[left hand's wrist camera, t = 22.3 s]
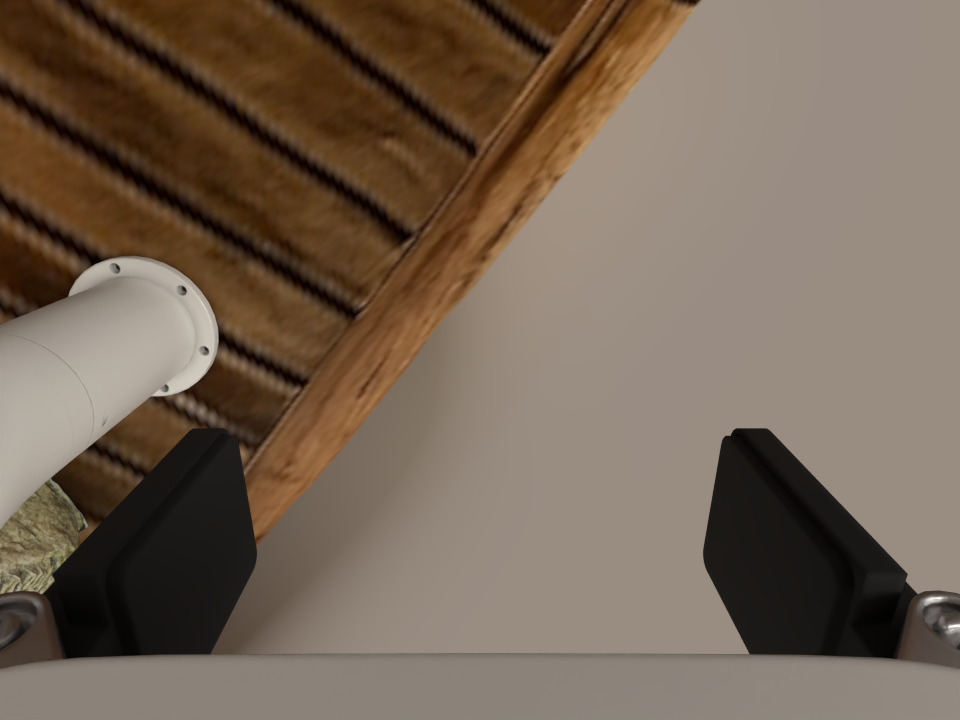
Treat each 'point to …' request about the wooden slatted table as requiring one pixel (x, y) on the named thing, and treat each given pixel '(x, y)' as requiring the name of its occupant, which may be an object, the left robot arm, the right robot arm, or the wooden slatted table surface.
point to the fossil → (38, 539)
